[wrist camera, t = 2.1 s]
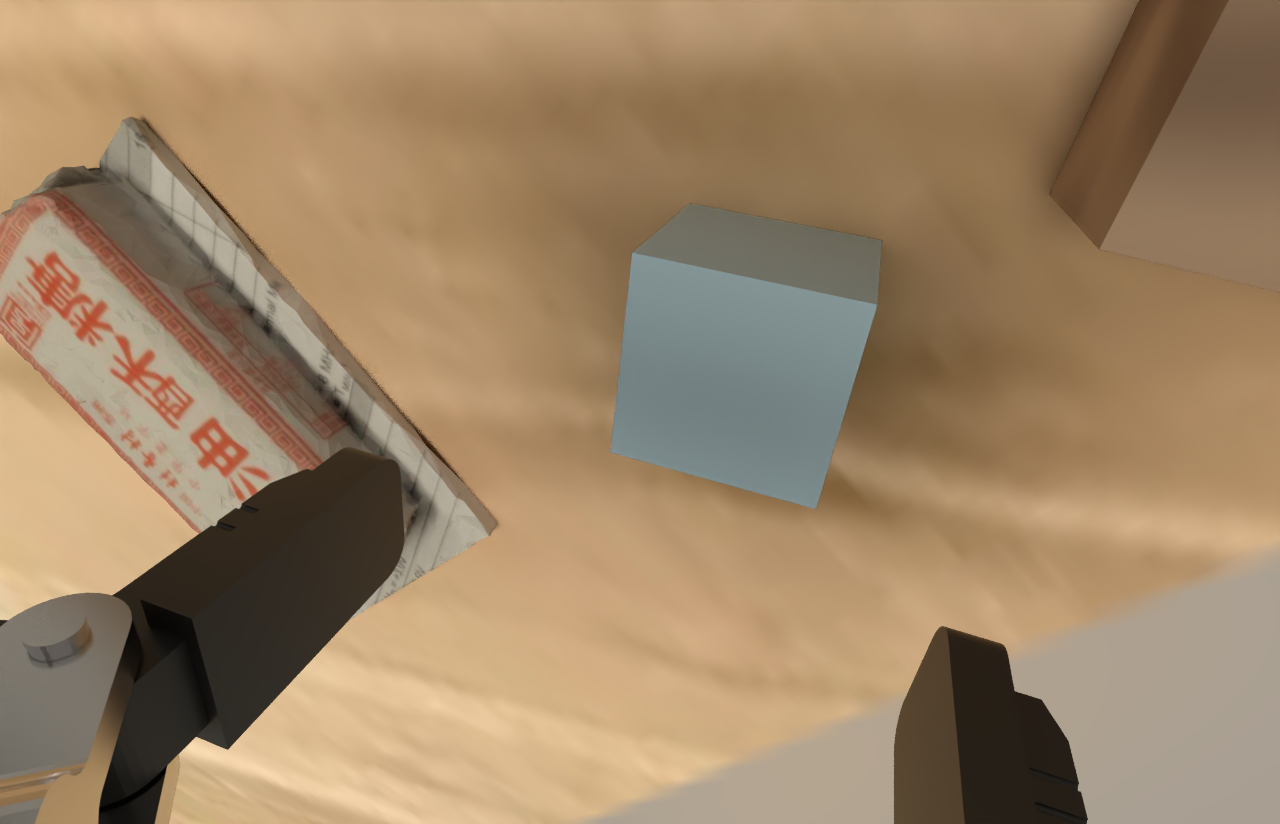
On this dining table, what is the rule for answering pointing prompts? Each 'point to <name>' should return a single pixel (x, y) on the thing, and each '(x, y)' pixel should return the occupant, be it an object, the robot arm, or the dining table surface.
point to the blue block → (743, 349)
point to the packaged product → (201, 350)
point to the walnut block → (1186, 142)
